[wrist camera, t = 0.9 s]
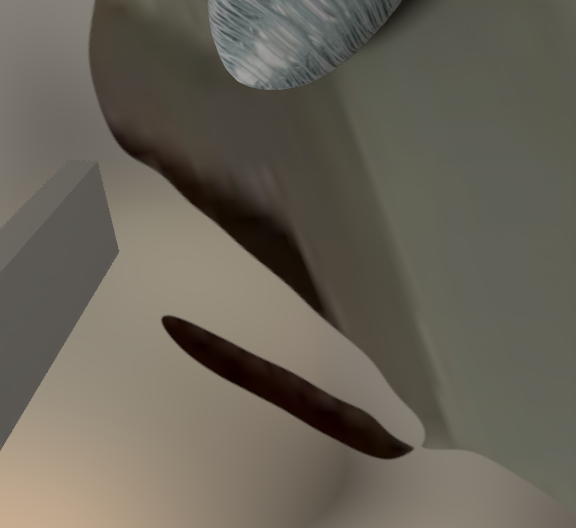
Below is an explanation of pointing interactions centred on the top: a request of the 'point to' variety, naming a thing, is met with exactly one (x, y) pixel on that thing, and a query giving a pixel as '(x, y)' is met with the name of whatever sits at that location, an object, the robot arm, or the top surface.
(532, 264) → the top surface
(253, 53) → the grey streaked egg shape
